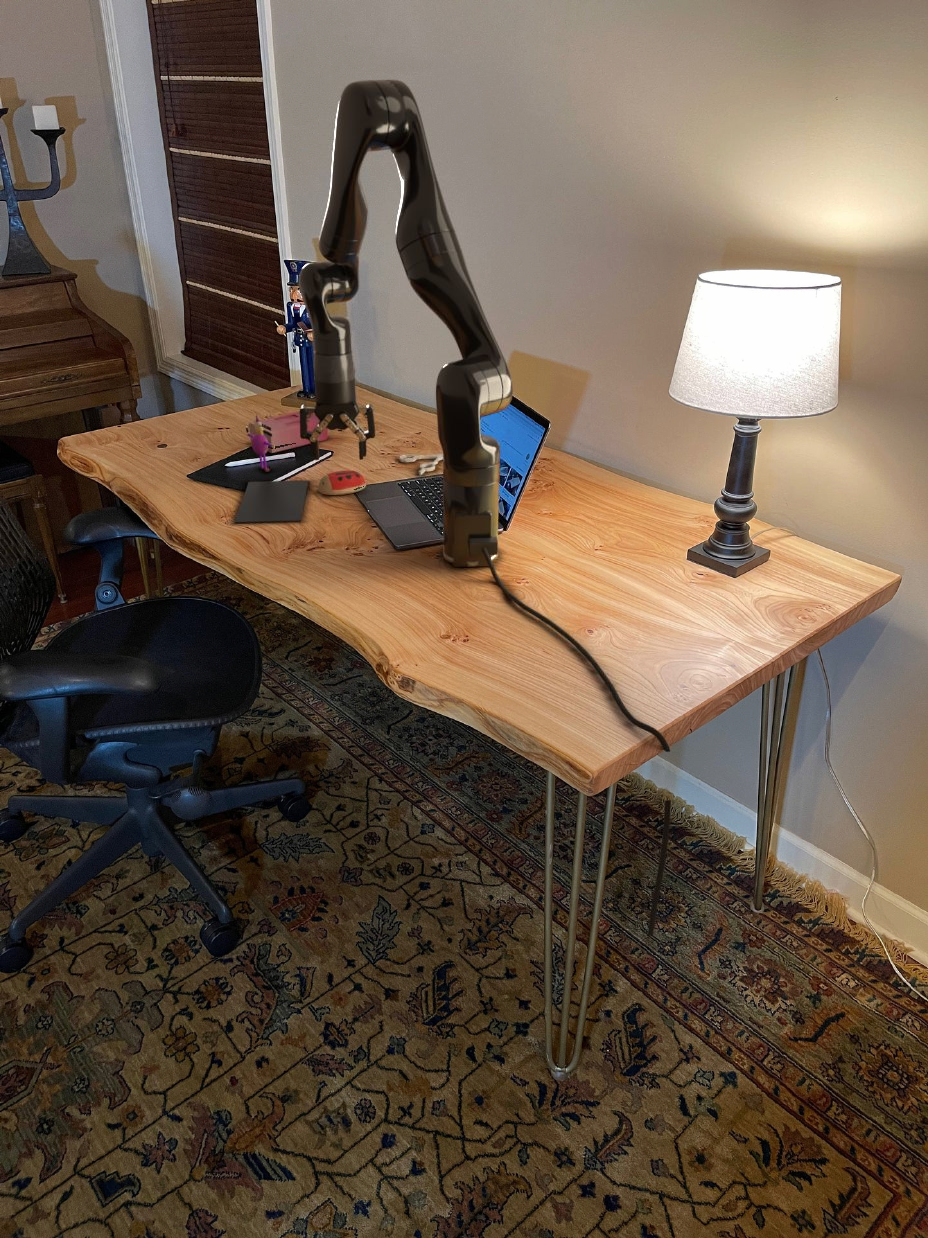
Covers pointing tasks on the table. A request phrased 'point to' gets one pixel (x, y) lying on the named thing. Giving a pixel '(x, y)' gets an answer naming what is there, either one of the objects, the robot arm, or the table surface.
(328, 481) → the ladybug figurine
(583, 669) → the table surface
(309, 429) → the popsicle
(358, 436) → the robot arm
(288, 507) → the desk pad
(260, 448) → the wizard figurine
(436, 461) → the scissors
